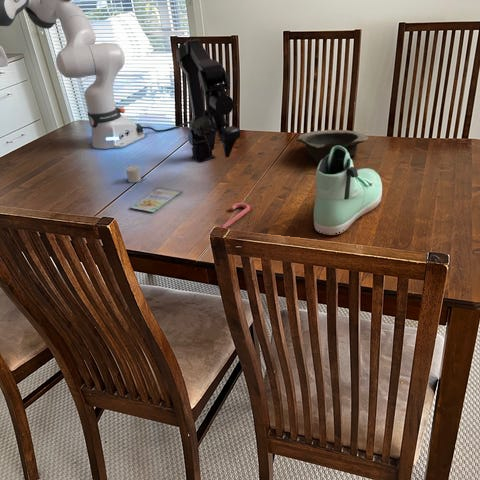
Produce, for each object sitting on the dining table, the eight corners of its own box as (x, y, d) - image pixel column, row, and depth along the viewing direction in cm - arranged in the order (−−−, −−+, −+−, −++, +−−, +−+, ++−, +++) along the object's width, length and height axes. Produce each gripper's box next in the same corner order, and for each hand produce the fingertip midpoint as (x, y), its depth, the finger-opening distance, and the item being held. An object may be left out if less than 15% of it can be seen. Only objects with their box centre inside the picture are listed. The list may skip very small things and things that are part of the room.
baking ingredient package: (130, 206, 148) (157, 187, 159) (130, 208, 148) (157, 189, 160) (153, 211, 144) (180, 191, 156) (153, 212, 145) (180, 192, 156)
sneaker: (389, 187, 148) (396, 123, 138) (356, 242, 123) (361, 168, 112) (346, 181, 154) (350, 119, 144) (306, 232, 129) (307, 161, 118)
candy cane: (207, 226, 136) (206, 221, 135) (237, 204, 146) (237, 200, 145) (224, 231, 132) (223, 227, 132) (254, 208, 143) (253, 204, 142)
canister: (135, 183, 165) (132, 171, 163) (125, 181, 167) (123, 169, 165) (143, 178, 168) (141, 166, 166) (134, 176, 170) (132, 164, 168)
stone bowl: (325, 174, 159) (324, 147, 155) (285, 157, 179) (283, 133, 175) (382, 156, 168) (383, 130, 164) (338, 142, 188) (338, 118, 184)
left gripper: (-65, 48, 148) (-48, 93, 155) (2, 37, 159) (15, 80, 167) (-70, 46, 152) (-53, 90, 160) (-4, 36, 164) (9, 77, 171)
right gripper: (178, 106, 153) (184, 152, 161) (209, 118, 140) (214, 168, 148) (207, 99, 159) (212, 144, 167) (240, 110, 145) (243, 158, 153)
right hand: (219, 153), depth 159 cm, fingers open, 9 cm apart
